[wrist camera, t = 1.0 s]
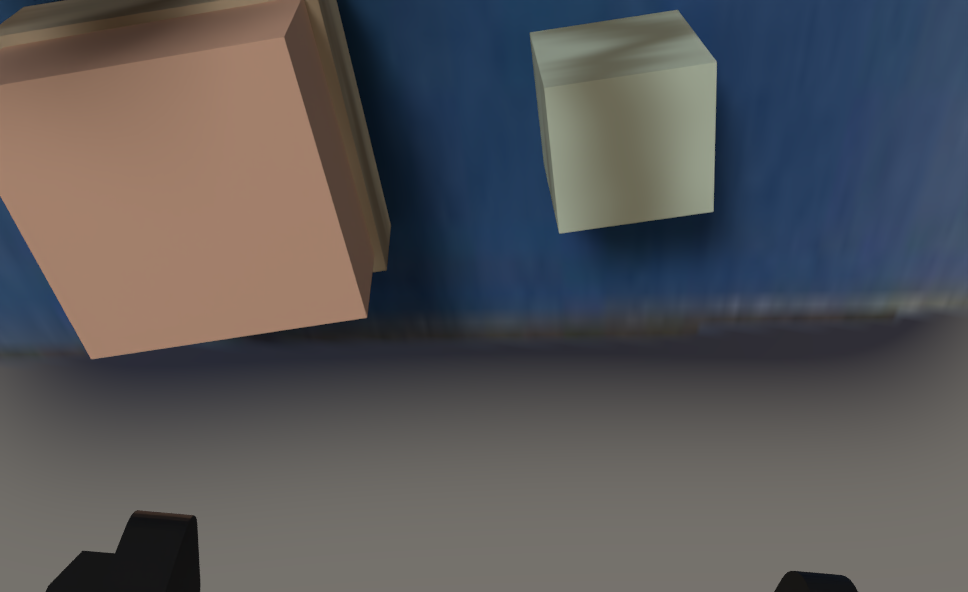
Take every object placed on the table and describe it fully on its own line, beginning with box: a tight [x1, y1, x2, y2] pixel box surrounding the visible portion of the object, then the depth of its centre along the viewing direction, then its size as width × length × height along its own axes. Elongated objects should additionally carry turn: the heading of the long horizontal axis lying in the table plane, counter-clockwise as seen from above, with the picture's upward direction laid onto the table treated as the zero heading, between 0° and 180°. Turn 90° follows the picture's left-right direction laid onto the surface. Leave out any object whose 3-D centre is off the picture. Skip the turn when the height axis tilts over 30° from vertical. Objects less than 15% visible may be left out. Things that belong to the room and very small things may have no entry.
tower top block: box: [0, 0, 374, 359], centre depth 28 cm, size 10×10×4 cm
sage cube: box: [530, 10, 717, 234], centre depth 31 cm, size 6×6×6 cm
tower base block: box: [0, 0, 391, 272], centre depth 32 cm, size 11×11×4 cm
